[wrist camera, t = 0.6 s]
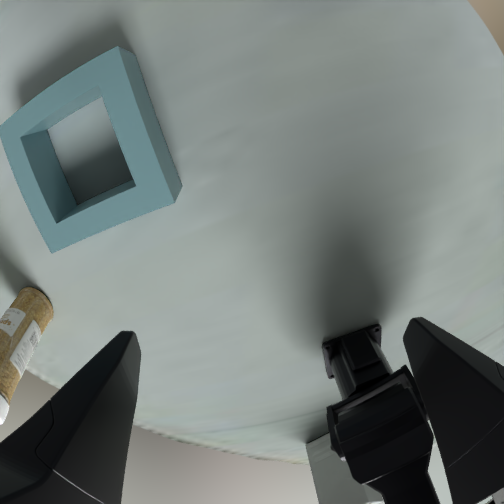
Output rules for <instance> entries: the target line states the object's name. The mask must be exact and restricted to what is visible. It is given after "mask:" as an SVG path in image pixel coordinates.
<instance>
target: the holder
mask: <svg viewBox="0 0 504 504" xmlns="http://www.w3.org/2000/svg"><path fill="white" fill-rule="evenodd" d="M101 96H102V97H103V100H104V103H105V106H106V109H107V112H108V115H109V117H110V120H111V123H112V126H113V128H114V131H115V134H116V137H117V139H118V142H119V144H120V147H121V150H122V152H123V155H124V157H125V160H126V162H127V165H128V167H129V170H130V172H131V175H132V177H133V180H130V181H128V182H126V183H123V184H121V185H119V186H117V187H115V188H112V189H110V190H108V191H106V192H104V193H102V194H99V195H97V196H95V197H93V198H91V199H89V200H87V201H85V202H83V203H81V204H79V205H77V203H76V201H75V199H74V197H73V194H72V192H71V190H70V188H69V185H68V183H67V181H66V178H65V176H64V174H63V171H62V169H61V166H60V164H59V161H58V159H57V156H56V154H55V151H54V148H53V146H52V143H51V140H50V138H49V135H48V132H47V129H49V128H50V127H51V126H53V125H54V124H56V123H57V122H59V121H61V120H62V119H64V118H65V117H67V116H68V115H70V114H72V113H73V112H75V111H77V110H78V109H80V108H82V107H83V106H85V105H87V104H89V103H90V102H92V101H94V100H96V99H98V98H99V97H101ZM0 137H1V140H2V144H3V147H4V150H5V152H6V155H7V158H8V161H9V164H10V166H11V169H12V171H13V174H14V177H15V179H16V182H17V184H18V186H19V189H20V191H21V193H22V196H23V198H24V200H25V202H26V205H27V207H28V209H29V211H30V213H31V215H32V217H33V219H34V221H35V223H36V225H37V227H38V229H39V231H40V233H41V235H42V237H43V239H44V241H45V243H46V244H47V246H48V248H49V250H50V252H51V253H54V252H56V251H58V250H61V249H63V248H65V247H67V246H69V245H72V244H74V243H76V242H78V241H81V240H83V239H85V238H87V237H90V236H92V235H94V234H97V233H99V232H102V231H104V230H106V229H109V228H111V227H114V226H116V225H118V224H121V223H123V222H126V221H128V220H131V219H133V218H136V217H139V216H141V215H144V214H146V213H149V212H152V211H154V210H157V209H160V208H162V207H165V206H168V205H170V204H173V203H175V201H176V199H177V197H178V195H179V192H180V190H181V188H182V184H181V181H180V179H179V176H178V174H177V171H176V169H175V166H174V163H173V161H172V158H171V155H170V153H169V150H168V147H167V145H166V142H165V139H164V136H163V134H162V131H161V128H160V125H159V123H158V120H157V117H156V114H155V112H154V109H153V106H152V103H151V100H150V97H149V94H148V91H147V89H146V86H145V83H144V80H143V77H142V74H141V71H140V68H139V65H138V62H137V59H136V56H135V54H133V53H131V52H129V51H127V50H125V49H123V48H121V47H119V46H116V47H114V48H112V49H111V50H109V51H107V52H105V53H103V54H101V55H99V56H97V57H96V58H94V59H92V60H90V61H89V62H87V63H85V64H83V65H82V66H80V67H78V68H77V69H75V70H73V71H72V72H70V73H69V74H67V75H66V76H64V77H63V78H61V79H60V80H58V81H57V82H55V83H54V84H52V85H51V86H49V87H48V88H46V89H45V90H44V91H42V92H41V93H40V94H38V95H37V96H36V97H34V98H33V99H32V100H30V101H29V102H28V103H27V104H25V105H24V106H23V107H22V108H20V109H19V110H18V111H17V112H16V113H14V114H13V115H12V116H11V117H10V118H8V119H7V120H6V121H5V122H4V123H3V124H2V125H1V126H0Z"/></svg>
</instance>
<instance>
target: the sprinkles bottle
mask: <svg viewBox="0 0 504 504" xmlns="http://www.w3.org/2000/svg"><path fill="white" fill-rule="evenodd" d="M52 318H53V308H52V305H51V303H50V302H49V300H48V299H47V298H46V296H45V295H44V294H42V293H41V292H40V291H38V290H37V289H34V288H31V287H26V288H23V289H21V291H20V292H19V294H18V296H17V298H16V299H15V300H14V302H13V303H12V304H11V306H10V307H9V309H8V310H7V311H6V312H5V313H4V315H3V316H2V318H1V319H0V424H3V422H4V420H5V418H6V415H7V413H8V410H9V405H10V400H11V398H12V395H13V393H14V390H15V388H16V386H17V384H18V382H19V380H20V379H21V377H22V375H23V373H24V370H25V368H26V366H27V364H28V362H29V360H30V358H31V356H32V354H33V352H34V350H35V348H36V346H37V344H38V342H39V341H40V338H41V335H42V333H43V331H44V330H45V328H46V326H47V324H48V323H49V322H50V321H51V320H52Z"/></svg>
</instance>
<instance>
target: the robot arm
mask: <svg viewBox="0 0 504 504" xmlns="http://www.w3.org/2000/svg"><path fill="white" fill-rule="evenodd" d="M403 342H404V346H405V349H406V352H407V355H408V359H409V362H410V366H411V369H412V372H413V376H414V377H413V376H412V374H411V372H410V371H409V369H408V367H407V366H406V364H405V365H404V366H402V367H401V369H399V370H397V371H396V372H394V373H393V371H392V369H391V367H390V365H389V363H388V361H387V360H386V358H385V356H384V354H383V352H382V350H381V326H380V325H379V324H375V325H373V326H370V327H367V328H365V329H362V330H359V331H357V332H354V333H351V334H348V335H345V336H343V337H340V338H337V339H334V340H331V341H328V342H325V343H324V344H323V345H322V348H323V353H324V359H325V364H326V370H327V375H328V378H329V379H332V378H335V380H336V383H337V385H338V388H339V391H340V394H341V397H342V399H343V400H342V401H340V402H338V403H336V404H334V405H330V406H328V407H327V420H328V427H329V434H330V448H331V450H332V451H334V452H336V453H337V454H338V456H339V457H340V459H341V460H342V461H343V462H347V464H348V466H349V469H350V472H351V475H352V478H353V479H354V480H356V481H357V482H358V483H359V484H361V485H363V484H366V485H368V486H369V487H371V488H372V489H374V490H376V491H377V492H379V493H381V495H382V497H383V500H384V502H385V504H440V502H439V499H438V496H437V494H436V491H435V488H434V486H433V483H432V481H431V478H430V476H429V473H428V466H429V462H430V456H431V451H432V445H433V439H434V435H435V438H436V441H437V444H438V448H439V451H440V454H441V458H442V461H443V465H444V469H445V473H446V477H447V481H448V485H449V489H450V493H451V497H452V501H453V504H477V503H479V502H481V501H482V500H484V499H486V498H488V497H489V496H491V495H492V497H493V498H492V499H491V500H490V501H488V502H487V503H486V504H504V366H502V365H501V364H499V363H497V362H495V361H494V360H493V359H491V358H489V357H488V356H486V355H484V354H483V353H481V352H480V351H478V350H476V349H475V348H473V347H471V346H470V345H468V344H466V343H465V342H463V341H462V340H460V339H458V338H457V337H455V336H453V335H452V334H450V333H448V332H447V331H445V330H443V329H442V328H440V327H438V326H436V325H435V324H433V323H431V322H430V321H428V320H426V319H425V318H423V317H416V318H412V319H411V320H410V322H409V324H408V326H407V329H406V331H405V333H404V336H403ZM140 362H141V350H140V346H139V343H138V340H137V336H136V334H135V332H133V331H121V332H120V333H119V334H117V335H116V336H115V337H114V338H113V339H112V340H111V341H110V342H109V343H108V344H107V345H106V346H105V347H104V348H102V349H101V350H100V351H99V352H98V353H97V354H96V355H95V356H94V357H93V358H92V359H91V360H90V361H89V362H88V363H87V364H86V365H85V366H83V367H82V368H81V369H80V370H79V371H78V372H77V373H76V374H75V375H74V376H73V377H72V378H71V379H70V380H69V381H68V382H67V383H66V384H65V385H64V386H63V387H62V388H61V389H60V390H59V391H58V392H57V393H56V394H55V395H54V396H53V397H52V398H51V401H50V400H48V401H47V402H46V403H45V404H44V406H42V407H41V408H40V409H39V410H38V411H37V412H36V413H35V414H34V415H33V416H32V417H31V418H30V419H29V420H27V421H26V422H25V423H24V424H23V425H22V426H20V427H19V428H18V429H17V430H15V431H14V432H13V433H12V434H10V435H9V436H8V437H7V438H5V439H4V440H3V441H2V442H0V504H121V498H122V488H123V481H124V474H125V466H126V460H127V452H128V446H129V441H130V434H131V429H132V424H133V418H134V413H135V408H136V402H137V395H138V383H139V372H140ZM428 420H430V423H431V426H432V429H433V432H434V435H433V433H432V430H431V428H430V426H429V424H428Z"/></svg>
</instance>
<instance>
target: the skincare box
mask: <svg viewBox="0 0 504 504" xmlns="http://www.w3.org/2000/svg"><path fill="white" fill-rule="evenodd" d="M306 450H307V454H308V458H309V463H310V467H311V471H312V475H313V479H314V484H315V488H316V493H317V497H318V501H319V504H378V503H381V502H383V498H382V495H381V493H379V492H377V491H376V490H374V489H372V488H371V487H369V486H368V485H366V484H363V485H361V484H359V483H358V482H357V481H356V480H354V479H353V478H352V475H351V472H350V469H349V466H348V464H347V462H343V461H342V460H341V459H340V457H339V456H338V454H337V453H336V452H334V451H332V450H331V448H330V434H329V433H328V434H326V435H324V436H322V437H320V438H318V439H316V440H314V441H313V442H311V443H308V444H306Z"/></svg>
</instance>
